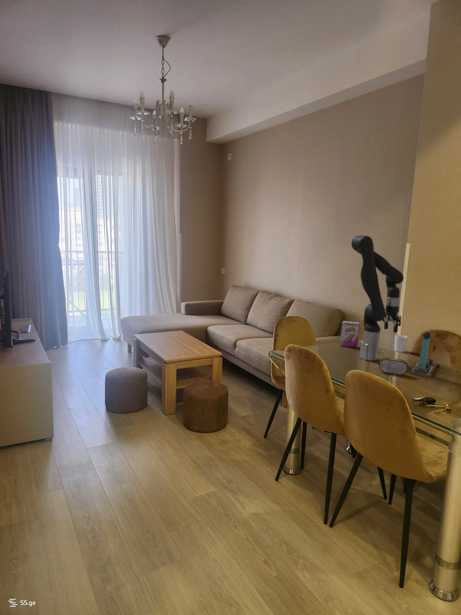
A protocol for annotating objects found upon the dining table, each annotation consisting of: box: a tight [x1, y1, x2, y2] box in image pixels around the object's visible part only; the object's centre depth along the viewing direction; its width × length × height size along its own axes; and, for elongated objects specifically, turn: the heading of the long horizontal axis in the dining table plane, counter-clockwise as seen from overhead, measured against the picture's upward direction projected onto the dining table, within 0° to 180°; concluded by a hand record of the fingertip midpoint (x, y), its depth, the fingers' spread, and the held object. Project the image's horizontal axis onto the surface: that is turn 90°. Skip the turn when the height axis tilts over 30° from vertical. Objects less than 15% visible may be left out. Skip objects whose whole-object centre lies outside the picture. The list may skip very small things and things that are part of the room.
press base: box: [409, 356, 439, 379], centre depth 245 cm, size 32×10×5 cm, turn 148°
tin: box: [378, 357, 409, 376], centre depth 232 cm, size 15×3×8 cm, turn 71°
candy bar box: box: [339, 320, 361, 349], centre depth 285 cm, size 11×5×16 cm, turn 77°
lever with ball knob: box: [415, 331, 432, 374], centre depth 236 cm, size 12×6×22 cm, turn 148°
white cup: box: [393, 334, 409, 353], centre depth 282 cm, size 8×8×10 cm
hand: (390, 330), depth 260 cm, fingers open, 8 cm apart
